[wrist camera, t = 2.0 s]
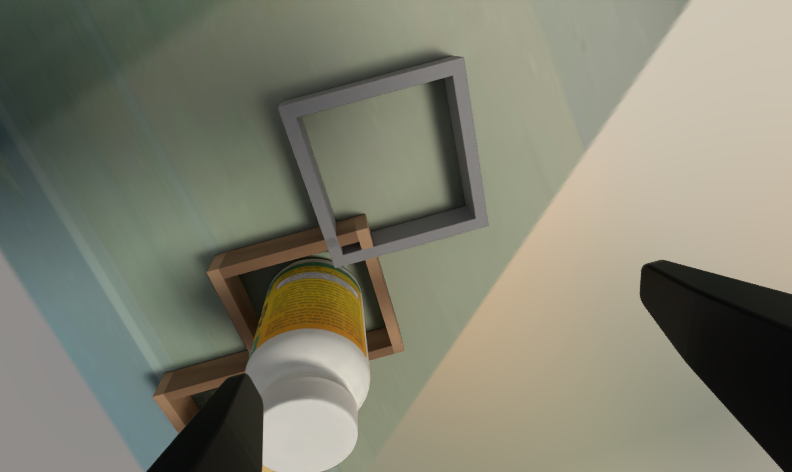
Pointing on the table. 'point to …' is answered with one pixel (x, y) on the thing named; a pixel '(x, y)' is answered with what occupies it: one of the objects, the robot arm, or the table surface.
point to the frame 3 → (294, 247)
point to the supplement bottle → (310, 366)
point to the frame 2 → (466, 150)
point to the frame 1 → (194, 386)
